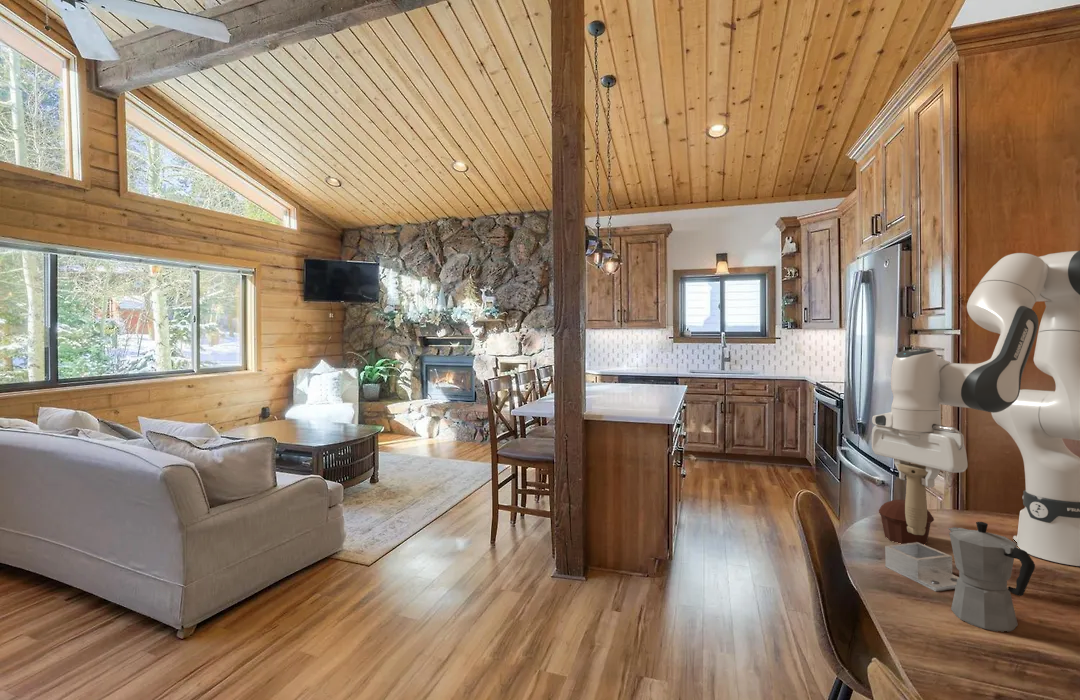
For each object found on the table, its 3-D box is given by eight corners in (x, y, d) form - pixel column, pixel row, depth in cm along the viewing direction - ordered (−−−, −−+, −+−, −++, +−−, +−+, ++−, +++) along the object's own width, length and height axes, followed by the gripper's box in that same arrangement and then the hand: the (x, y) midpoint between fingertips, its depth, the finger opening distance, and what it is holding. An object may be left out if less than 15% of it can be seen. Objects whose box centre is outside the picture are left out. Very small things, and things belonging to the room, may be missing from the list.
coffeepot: (929, 602, 99) (927, 511, 99) (972, 599, 100) (971, 509, 100) (1009, 649, 84) (1007, 541, 84) (1059, 644, 85) (1058, 538, 85)
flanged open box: (918, 562, 117) (917, 542, 117) (971, 586, 105) (971, 563, 105) (885, 566, 115) (885, 545, 115) (935, 591, 103) (935, 568, 103)
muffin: (873, 540, 131) (873, 501, 131) (884, 528, 139) (883, 492, 139) (930, 552, 122) (930, 511, 122) (938, 539, 130) (937, 501, 130)
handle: (931, 540, 108) (931, 470, 108) (896, 532, 113) (895, 465, 113) (936, 534, 111) (936, 466, 111) (901, 527, 116) (901, 462, 116)
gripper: (975, 427, 102) (976, 495, 102) (888, 415, 122) (889, 471, 123) (949, 429, 101) (950, 497, 101) (866, 416, 121) (866, 473, 121)
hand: (916, 483), depth 112 cm, fingers closed on handle, 4 cm apart
